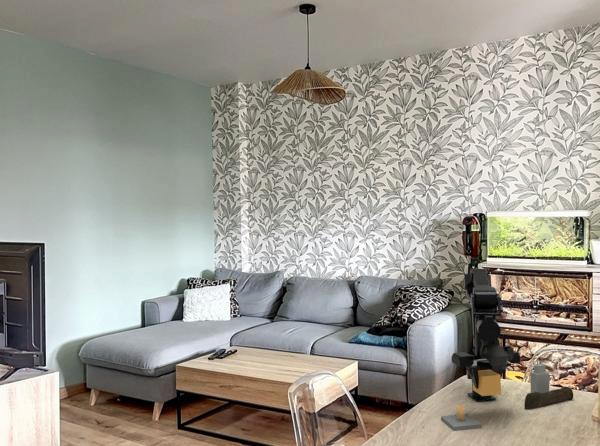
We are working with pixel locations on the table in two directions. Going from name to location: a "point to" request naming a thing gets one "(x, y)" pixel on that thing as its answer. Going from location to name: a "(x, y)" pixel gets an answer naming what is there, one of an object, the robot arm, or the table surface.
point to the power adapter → (539, 378)
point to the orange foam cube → (488, 383)
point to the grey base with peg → (461, 420)
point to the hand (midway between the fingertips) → (486, 387)
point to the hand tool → (547, 397)
